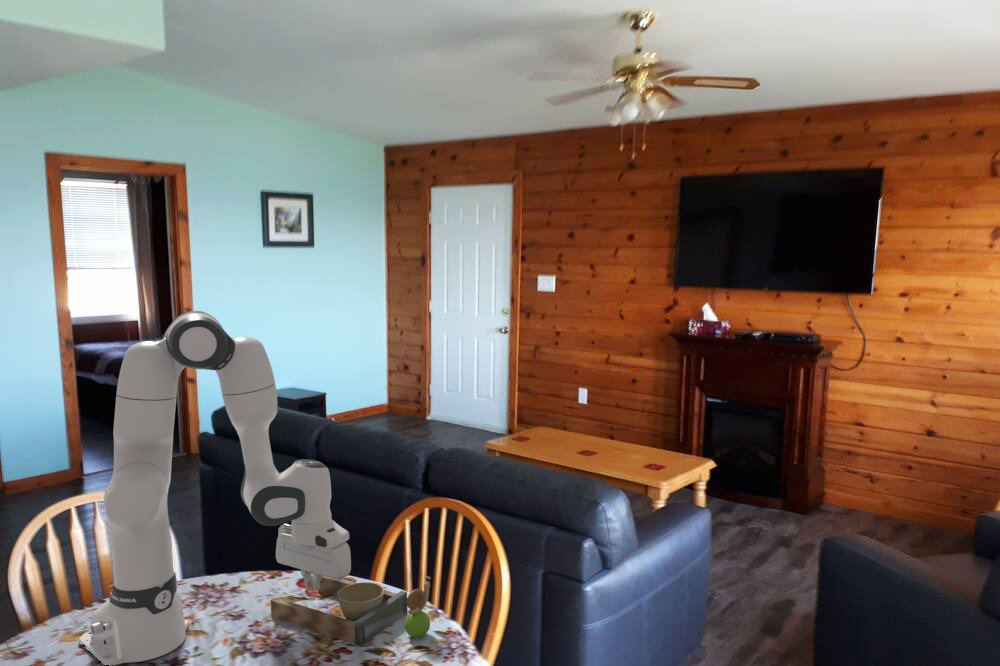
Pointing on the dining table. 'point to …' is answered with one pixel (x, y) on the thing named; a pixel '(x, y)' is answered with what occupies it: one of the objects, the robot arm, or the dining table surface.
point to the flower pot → (360, 599)
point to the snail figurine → (418, 612)
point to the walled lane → (340, 627)
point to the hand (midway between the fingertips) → (312, 588)
